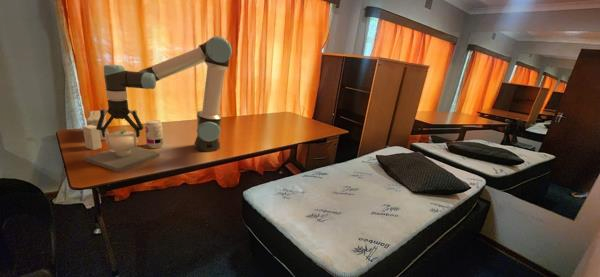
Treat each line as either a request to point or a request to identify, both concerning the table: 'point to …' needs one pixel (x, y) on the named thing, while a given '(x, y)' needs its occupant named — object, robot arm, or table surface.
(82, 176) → the table surface
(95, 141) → the skincare box
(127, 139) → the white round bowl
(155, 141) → the supplement can
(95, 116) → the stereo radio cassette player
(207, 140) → the robot arm
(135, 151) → the base
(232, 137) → the table surface
